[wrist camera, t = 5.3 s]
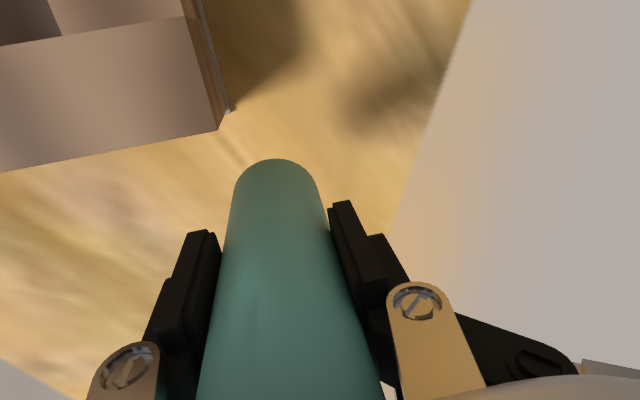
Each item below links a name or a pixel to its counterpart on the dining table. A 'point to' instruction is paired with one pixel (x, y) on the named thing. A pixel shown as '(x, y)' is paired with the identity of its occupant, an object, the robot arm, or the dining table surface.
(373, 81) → the dining table surface
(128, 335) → the dining table surface
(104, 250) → the dining table surface
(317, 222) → the peg
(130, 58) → the socket block
